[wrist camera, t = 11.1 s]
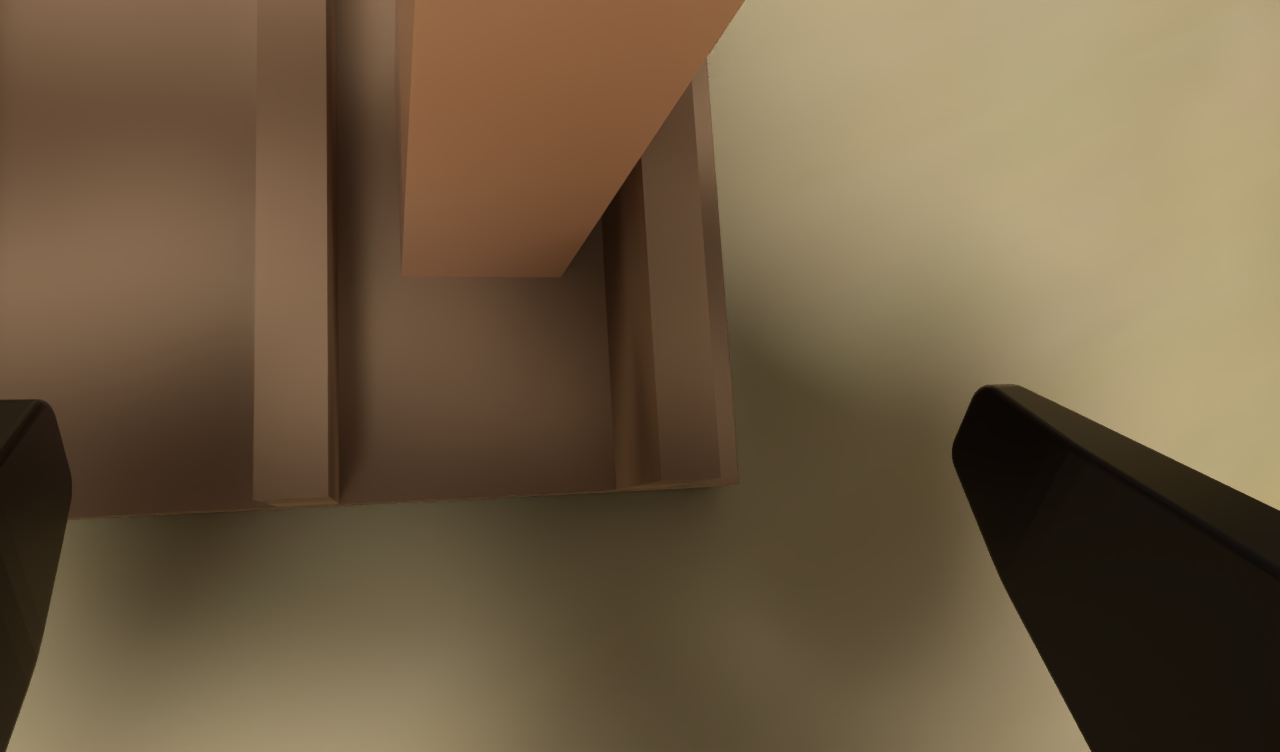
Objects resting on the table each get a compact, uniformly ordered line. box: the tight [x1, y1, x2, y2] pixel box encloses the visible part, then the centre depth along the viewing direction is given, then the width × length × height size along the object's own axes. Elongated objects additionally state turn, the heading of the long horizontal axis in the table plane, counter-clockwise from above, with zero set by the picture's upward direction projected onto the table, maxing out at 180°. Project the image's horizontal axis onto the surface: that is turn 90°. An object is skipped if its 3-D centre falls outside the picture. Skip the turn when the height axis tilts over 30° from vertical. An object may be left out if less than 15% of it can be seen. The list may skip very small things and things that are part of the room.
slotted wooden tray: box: [0, 0, 739, 520], centre depth 16 cm, size 12×16×4 cm
